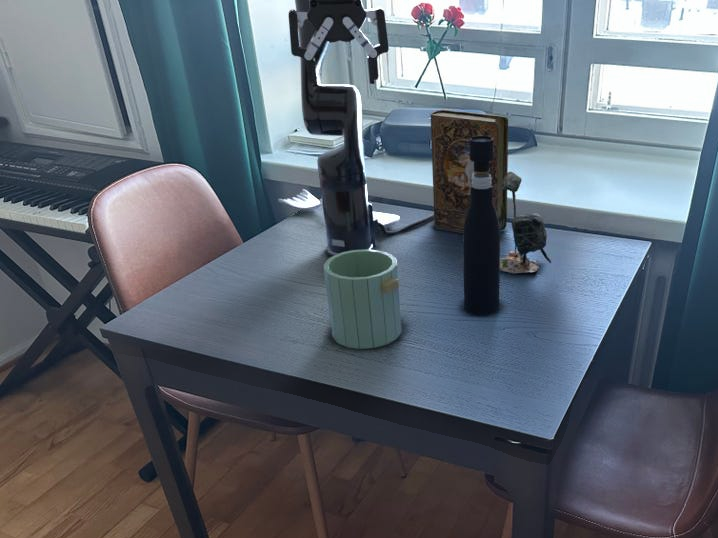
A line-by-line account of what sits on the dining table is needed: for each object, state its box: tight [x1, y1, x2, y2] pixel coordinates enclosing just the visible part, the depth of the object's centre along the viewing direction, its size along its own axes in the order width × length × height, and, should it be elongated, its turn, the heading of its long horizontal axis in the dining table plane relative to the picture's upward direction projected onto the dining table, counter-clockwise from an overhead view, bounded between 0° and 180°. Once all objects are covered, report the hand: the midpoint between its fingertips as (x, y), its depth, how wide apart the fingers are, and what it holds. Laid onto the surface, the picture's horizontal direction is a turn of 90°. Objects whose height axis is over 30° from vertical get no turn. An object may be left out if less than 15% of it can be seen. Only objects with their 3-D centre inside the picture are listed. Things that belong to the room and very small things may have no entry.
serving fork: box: [277, 188, 400, 229], centre depth 164 cm, size 9×32×4 cm, turn 59°
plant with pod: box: [500, 171, 552, 275], centre depth 135 cm, size 8×11×20 cm
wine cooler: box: [323, 249, 402, 350], centre depth 116 cm, size 12×14×12 cm
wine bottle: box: [462, 136, 501, 316], centre depth 118 cm, size 6×6×30 cm
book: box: [429, 109, 509, 234], centre depth 152 cm, size 16×6×25 cm, turn 65°
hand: (343, 84), depth 107 cm, fingers open, 8 cm apart
